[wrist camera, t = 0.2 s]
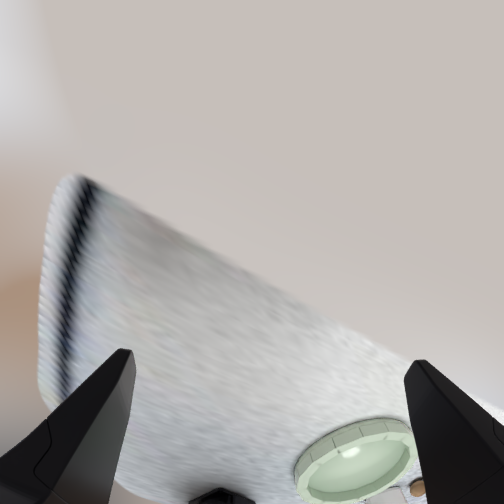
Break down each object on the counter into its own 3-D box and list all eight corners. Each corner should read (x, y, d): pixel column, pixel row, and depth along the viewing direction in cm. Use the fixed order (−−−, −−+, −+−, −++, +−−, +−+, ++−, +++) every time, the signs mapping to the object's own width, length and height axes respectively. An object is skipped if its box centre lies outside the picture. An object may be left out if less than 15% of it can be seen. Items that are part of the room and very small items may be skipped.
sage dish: (338, 501, 34) (342, 514, 32) (267, 471, 31) (269, 486, 29) (427, 443, 32) (434, 454, 30) (375, 398, 29) (383, 413, 27)
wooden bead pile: (418, 492, 37) (429, 512, 32) (404, 485, 35) (415, 508, 30) (457, 464, 35) (470, 483, 31) (446, 455, 34) (460, 476, 29)
